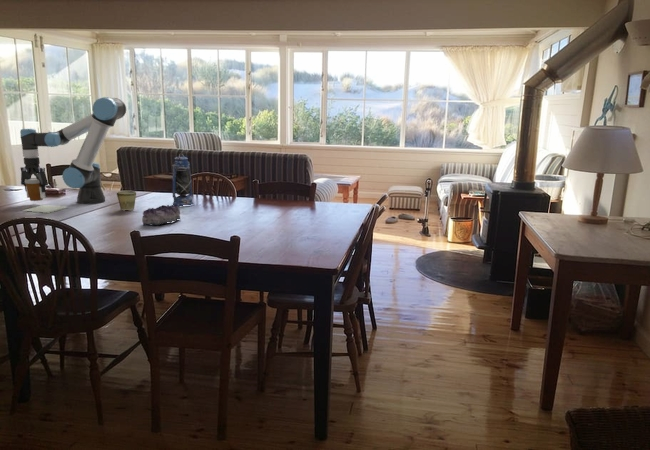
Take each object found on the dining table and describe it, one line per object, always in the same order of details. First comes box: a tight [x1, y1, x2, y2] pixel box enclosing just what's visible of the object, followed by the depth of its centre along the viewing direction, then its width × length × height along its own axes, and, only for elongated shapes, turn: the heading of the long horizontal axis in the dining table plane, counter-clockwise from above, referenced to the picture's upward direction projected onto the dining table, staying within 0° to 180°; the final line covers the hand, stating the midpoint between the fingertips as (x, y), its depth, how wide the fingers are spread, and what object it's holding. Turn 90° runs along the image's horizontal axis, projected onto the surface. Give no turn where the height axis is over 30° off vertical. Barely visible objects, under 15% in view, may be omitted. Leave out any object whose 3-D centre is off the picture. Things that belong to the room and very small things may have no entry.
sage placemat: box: [22, 204, 69, 214], centre depth 267 cm, size 15×15×1 cm
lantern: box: [171, 153, 194, 206], centre depth 288 cm, size 15×12×30 cm
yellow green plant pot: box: [116, 190, 137, 211], centre depth 273 cm, size 13×10×10 cm
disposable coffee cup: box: [24, 177, 44, 202], centre depth 278 cm, size 10×10×12 cm
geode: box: [141, 204, 181, 226], centre depth 245 cm, size 20×12×10 cm, turn 151°
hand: (36, 197), depth 279 cm, fingers closed on disposable coffee cup, 8 cm apart
